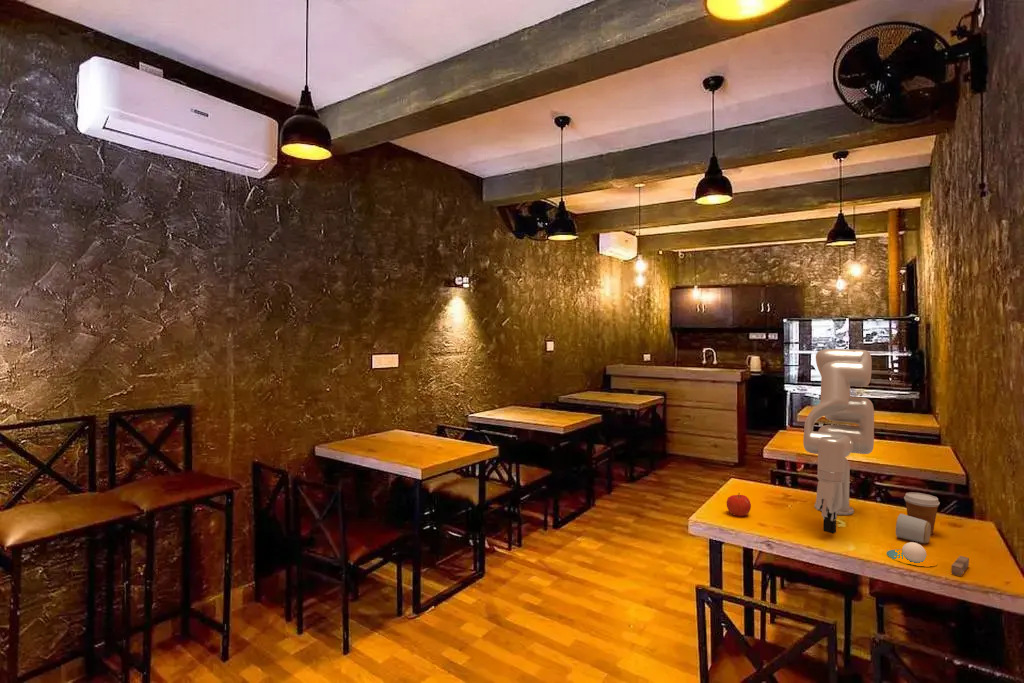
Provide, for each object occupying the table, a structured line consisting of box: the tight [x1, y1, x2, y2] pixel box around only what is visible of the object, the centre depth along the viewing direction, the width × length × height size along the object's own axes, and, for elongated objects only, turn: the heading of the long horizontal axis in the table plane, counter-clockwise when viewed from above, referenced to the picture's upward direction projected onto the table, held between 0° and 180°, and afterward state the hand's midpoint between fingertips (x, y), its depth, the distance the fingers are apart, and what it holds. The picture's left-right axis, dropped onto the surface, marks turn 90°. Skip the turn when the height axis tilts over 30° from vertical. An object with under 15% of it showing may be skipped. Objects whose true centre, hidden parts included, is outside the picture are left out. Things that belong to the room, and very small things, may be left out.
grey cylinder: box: [895, 513, 931, 544], centre depth 174 cm, size 11×8×8 cm
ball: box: [901, 541, 927, 563], centre depth 156 cm, size 6×6×6 cm
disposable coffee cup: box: [903, 492, 941, 536], centre depth 180 cm, size 10×10×12 cm
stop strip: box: [950, 555, 970, 577], centre depth 151 cm, size 10×2×2 cm, turn 130°
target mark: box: [886, 549, 903, 560], centre depth 159 cm, size 12×12×1 cm
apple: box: [726, 492, 752, 517], centre depth 196 cm, size 8×8×8 cm
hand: (829, 531), depth 176 cm, fingers closed
